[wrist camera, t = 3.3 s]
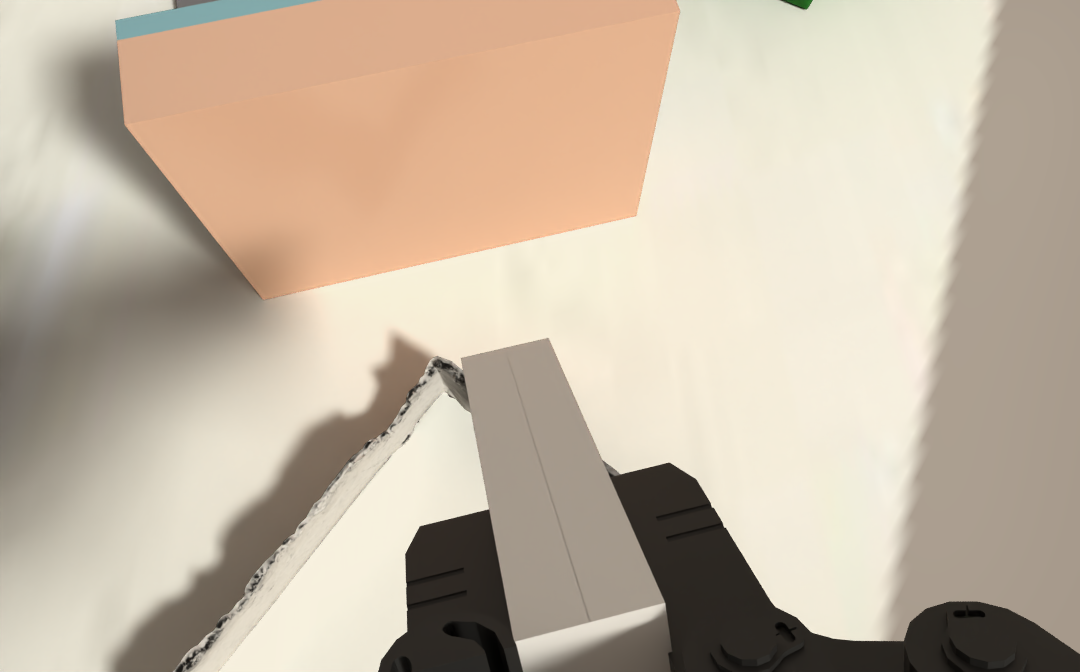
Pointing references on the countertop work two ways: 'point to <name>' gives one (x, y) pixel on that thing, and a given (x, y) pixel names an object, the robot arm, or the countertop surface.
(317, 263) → the terracotta tile
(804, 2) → the milk carton
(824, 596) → the countertop surface
